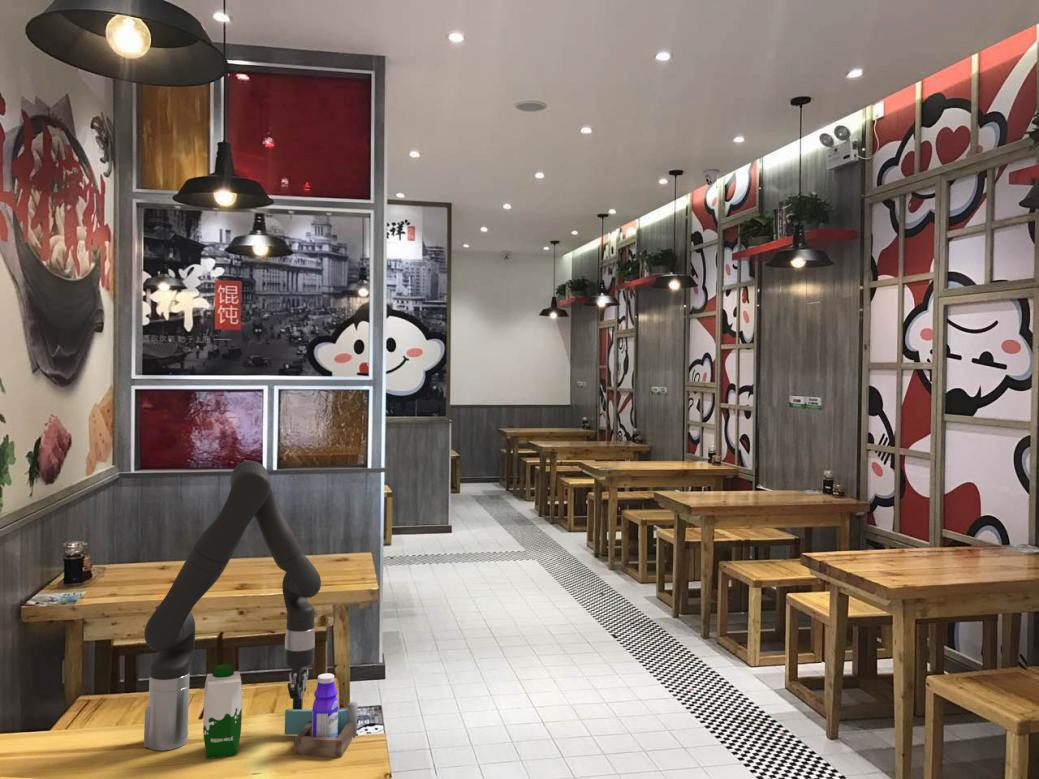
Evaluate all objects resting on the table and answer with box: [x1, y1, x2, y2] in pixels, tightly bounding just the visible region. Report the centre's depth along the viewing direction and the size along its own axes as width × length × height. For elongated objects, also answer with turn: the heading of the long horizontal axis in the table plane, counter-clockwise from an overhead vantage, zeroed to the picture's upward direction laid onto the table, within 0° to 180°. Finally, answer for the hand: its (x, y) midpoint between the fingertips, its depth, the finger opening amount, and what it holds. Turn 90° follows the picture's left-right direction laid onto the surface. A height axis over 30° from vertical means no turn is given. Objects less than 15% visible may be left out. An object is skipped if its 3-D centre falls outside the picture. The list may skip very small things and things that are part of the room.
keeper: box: [284, 701, 358, 738], centre depth 211 cm, size 18×2×8 cm, turn 93°
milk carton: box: [202, 663, 243, 760], centre depth 201 cm, size 9×9×20 cm
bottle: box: [311, 672, 339, 738], centre depth 205 cm, size 7×6×17 cm
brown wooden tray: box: [294, 721, 354, 758], centre depth 204 cm, size 12×11×4 cm
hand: (297, 712), depth 214 cm, fingers closed
